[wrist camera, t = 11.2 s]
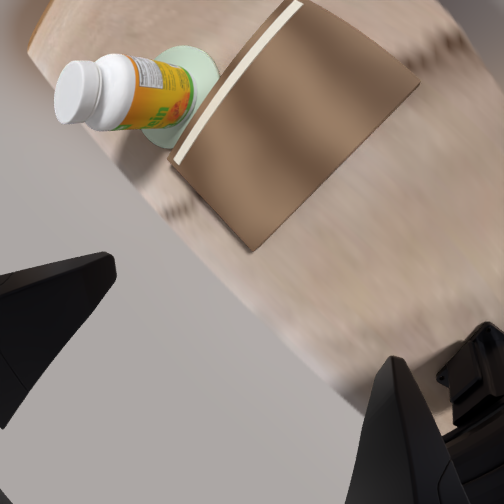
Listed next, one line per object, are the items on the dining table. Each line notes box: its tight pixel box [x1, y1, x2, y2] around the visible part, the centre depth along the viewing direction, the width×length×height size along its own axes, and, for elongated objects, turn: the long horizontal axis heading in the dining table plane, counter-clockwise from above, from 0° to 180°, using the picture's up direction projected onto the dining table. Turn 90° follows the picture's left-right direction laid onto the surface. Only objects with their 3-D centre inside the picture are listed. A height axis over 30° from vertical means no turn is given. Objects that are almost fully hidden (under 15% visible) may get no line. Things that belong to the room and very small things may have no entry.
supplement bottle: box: [54, 54, 197, 131], centre depth 16 cm, size 5×5×10 cm
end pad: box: [141, 46, 220, 148], centre depth 20 cm, size 9×9×1 cm
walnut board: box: [167, 0, 421, 252], centre depth 17 cm, size 16×10×1 cm, turn 139°
